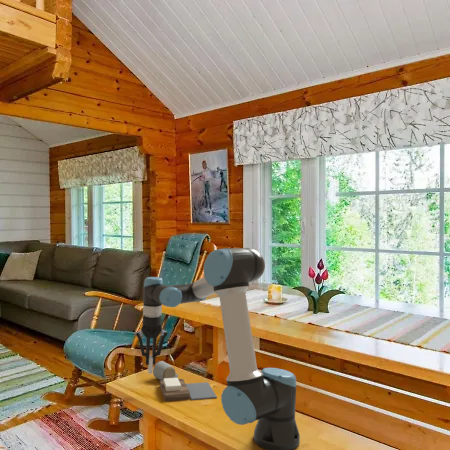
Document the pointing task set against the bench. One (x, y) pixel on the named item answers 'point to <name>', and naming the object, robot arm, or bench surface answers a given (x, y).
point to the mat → (200, 391)
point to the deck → (175, 392)
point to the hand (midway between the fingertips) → (150, 372)
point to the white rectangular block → (172, 384)
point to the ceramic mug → (164, 371)
